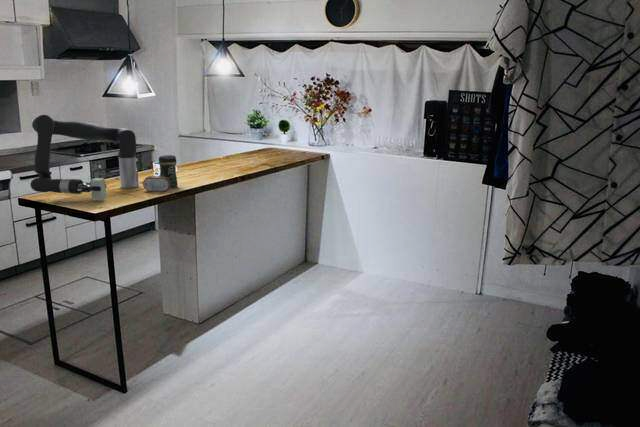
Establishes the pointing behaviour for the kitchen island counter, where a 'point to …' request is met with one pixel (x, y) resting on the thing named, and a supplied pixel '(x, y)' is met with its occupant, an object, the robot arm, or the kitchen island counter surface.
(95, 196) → the sage block
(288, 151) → the kitchen island counter surface
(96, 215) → the kitchen island counter surface
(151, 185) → the tin
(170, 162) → the coffee jar
